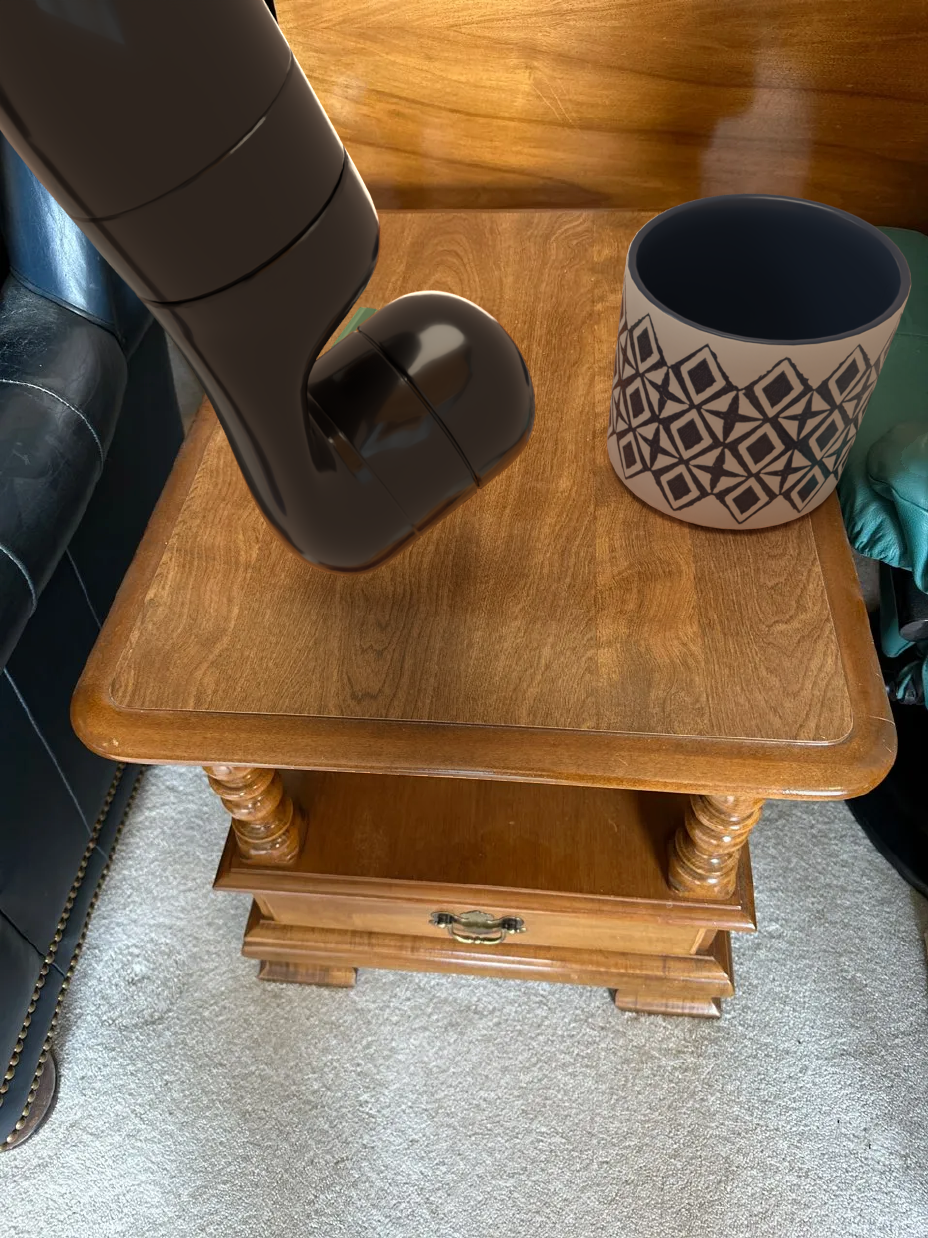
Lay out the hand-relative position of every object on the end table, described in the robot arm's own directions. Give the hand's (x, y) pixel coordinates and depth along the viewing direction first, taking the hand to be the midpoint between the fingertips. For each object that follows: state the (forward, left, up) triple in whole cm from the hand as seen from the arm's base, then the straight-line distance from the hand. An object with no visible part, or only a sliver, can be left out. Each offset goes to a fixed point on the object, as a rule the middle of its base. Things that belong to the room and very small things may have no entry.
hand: (376, 478), depth 65 cm
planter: (+22, +16, -6) cm, 28 cm away
